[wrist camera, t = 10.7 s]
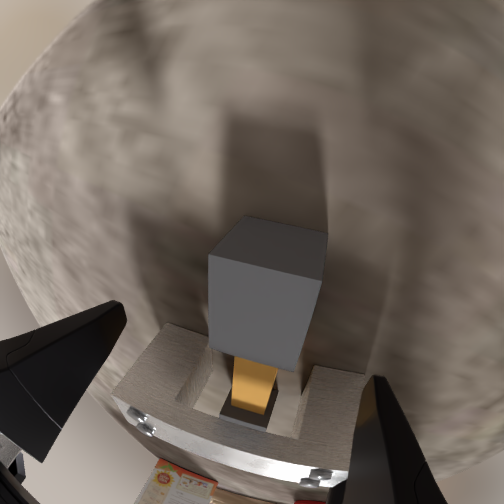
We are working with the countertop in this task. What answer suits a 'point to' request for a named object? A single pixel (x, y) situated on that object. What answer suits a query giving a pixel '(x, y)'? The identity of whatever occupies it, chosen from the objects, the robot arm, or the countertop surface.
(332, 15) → the countertop surface
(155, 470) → the cracker box
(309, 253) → the plug
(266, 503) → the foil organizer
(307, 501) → the canned food
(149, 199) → the countertop surface
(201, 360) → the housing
